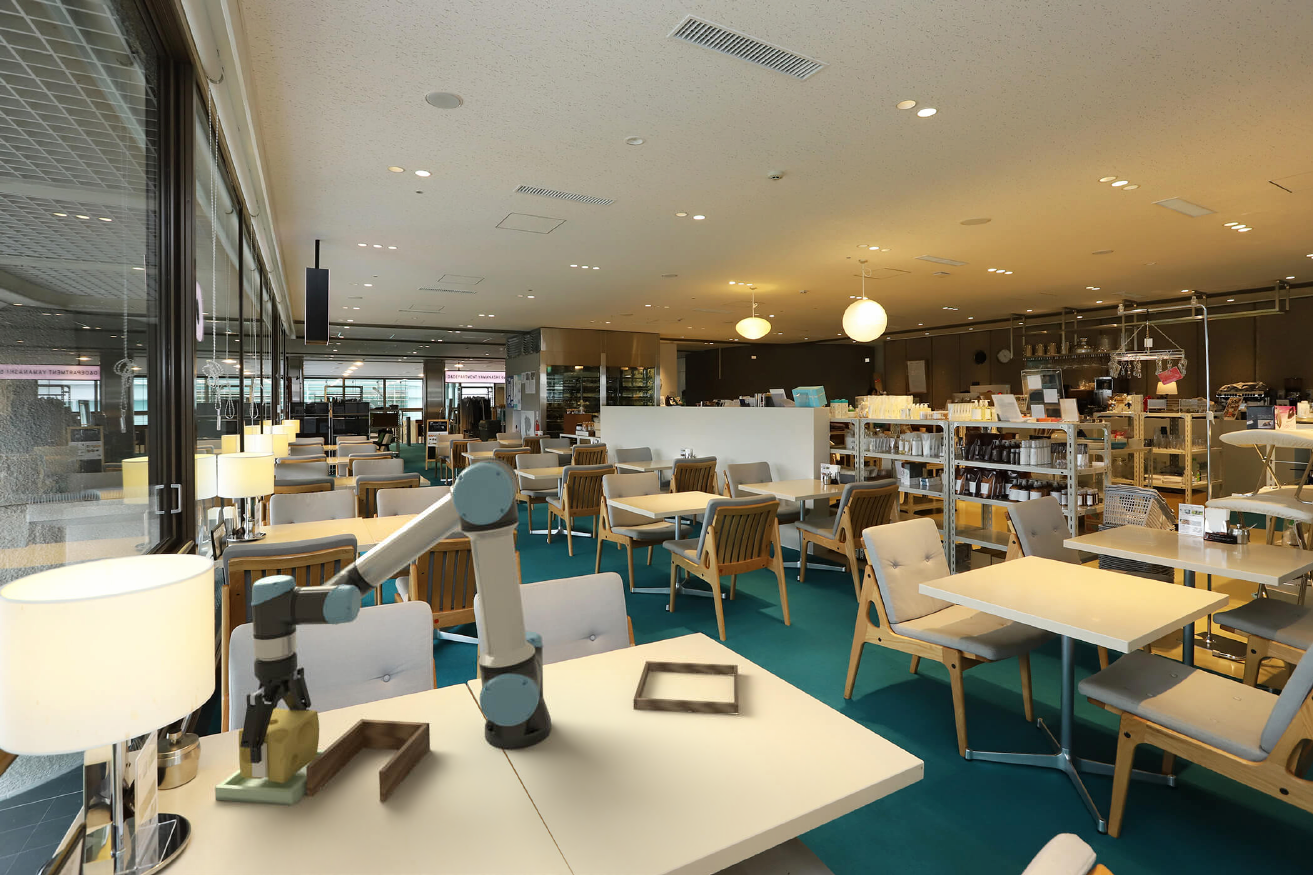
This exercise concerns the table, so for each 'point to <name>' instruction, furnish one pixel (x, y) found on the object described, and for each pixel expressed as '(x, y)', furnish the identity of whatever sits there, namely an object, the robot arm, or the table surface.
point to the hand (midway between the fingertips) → (279, 760)
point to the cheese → (285, 744)
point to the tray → (263, 788)
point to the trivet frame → (686, 704)
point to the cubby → (378, 735)
